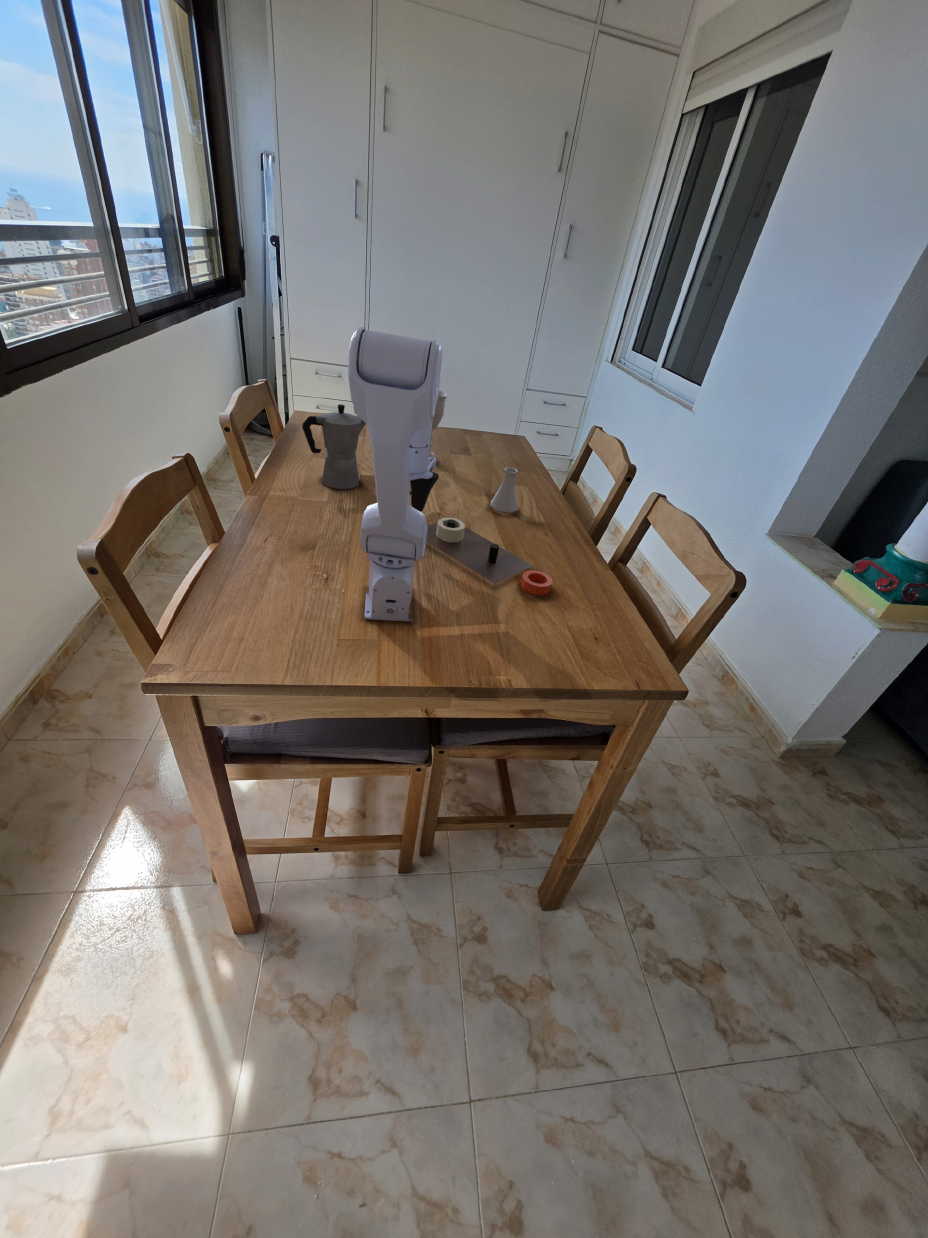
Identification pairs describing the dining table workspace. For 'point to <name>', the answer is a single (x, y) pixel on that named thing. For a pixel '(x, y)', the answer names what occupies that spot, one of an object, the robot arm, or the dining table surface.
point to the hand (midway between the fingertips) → (406, 516)
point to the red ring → (535, 587)
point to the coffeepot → (337, 446)
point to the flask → (506, 493)
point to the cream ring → (450, 530)
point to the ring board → (479, 554)
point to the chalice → (437, 416)
